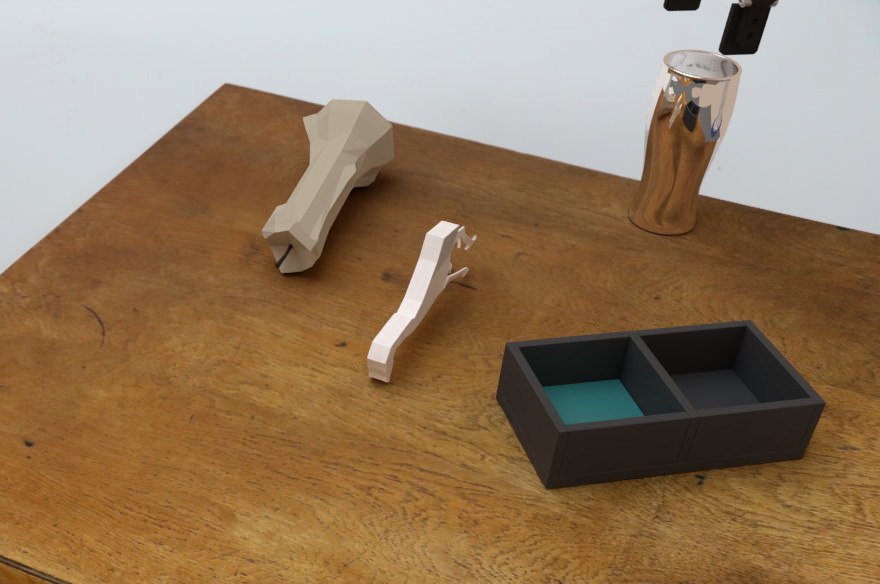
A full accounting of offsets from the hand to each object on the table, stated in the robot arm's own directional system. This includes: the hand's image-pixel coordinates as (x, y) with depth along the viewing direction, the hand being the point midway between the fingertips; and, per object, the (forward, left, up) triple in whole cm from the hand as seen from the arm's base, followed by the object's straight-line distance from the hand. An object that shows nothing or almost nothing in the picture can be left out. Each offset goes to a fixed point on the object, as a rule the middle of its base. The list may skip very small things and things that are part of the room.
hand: (707, 30), depth 93 cm
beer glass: (0, 0, -18) cm, 18 cm away
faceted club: (+32, -4, -18) cm, 37 cm away
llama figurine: (+27, +13, -18) cm, 35 cm away
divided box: (+15, +28, -18) cm, 36 cm away
